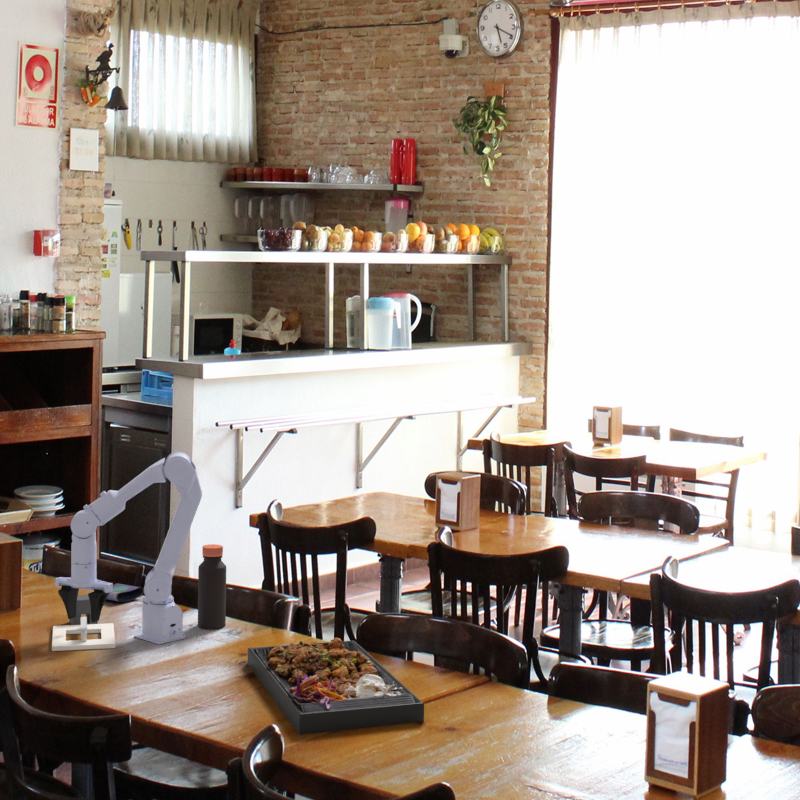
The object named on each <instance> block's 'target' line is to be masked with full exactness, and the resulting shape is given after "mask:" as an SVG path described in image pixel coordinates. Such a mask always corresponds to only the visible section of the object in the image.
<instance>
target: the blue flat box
mask: <svg viewBox="0 0 800 800" xmlns="http://www.w3.org/2000/svg"><path fill="white" fill-rule="evenodd" d="M143 594H144V588H143V587H141V586H135V585H129V584H124V583H123V584H122V583H114V584H113V591H112V592H109V595H108V597H107V598H106V601H108V600H109V601H113V602H118V603H119V602H120V603H121V602H130V601H133V600H134V601H135V600H137V599H138V598H140V597H141V596H143Z"/></svg>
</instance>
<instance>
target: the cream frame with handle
mask: <svg viewBox="0 0 800 800" xmlns="http://www.w3.org/2000/svg"><path fill="white" fill-rule="evenodd" d="M88 634H100V638H94V639H93V638H92V639H88V638H87V637H88ZM67 635H80V639H73V640H71V639H70V640H67ZM115 635H116V634H115V628H114V623H113V622H112V623H111V622H110V623H98V624H88V623H87V617H86V615H85V616H81V625H71V624H67V625H66V624H65V625H53V626H52V639H51V651H52V652H56V651H57V652H60V651H62V652H63V651H79V650H100V649H102V650H105V649H116V646H117V645H116V636H115Z"/></svg>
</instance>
